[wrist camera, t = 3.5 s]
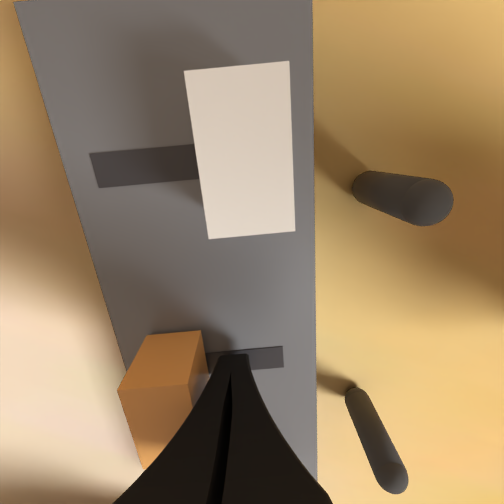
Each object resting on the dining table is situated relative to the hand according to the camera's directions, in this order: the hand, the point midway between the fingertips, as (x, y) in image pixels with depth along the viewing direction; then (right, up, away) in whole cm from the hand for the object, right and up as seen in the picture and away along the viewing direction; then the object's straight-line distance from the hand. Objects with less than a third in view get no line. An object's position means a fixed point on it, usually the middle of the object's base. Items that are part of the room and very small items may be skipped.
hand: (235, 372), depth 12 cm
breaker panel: (-1, +2, +4) cm, 5 cm away
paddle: (0, +9, -3) cm, 9 cm away
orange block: (-3, 0, +1) cm, 3 cm away
